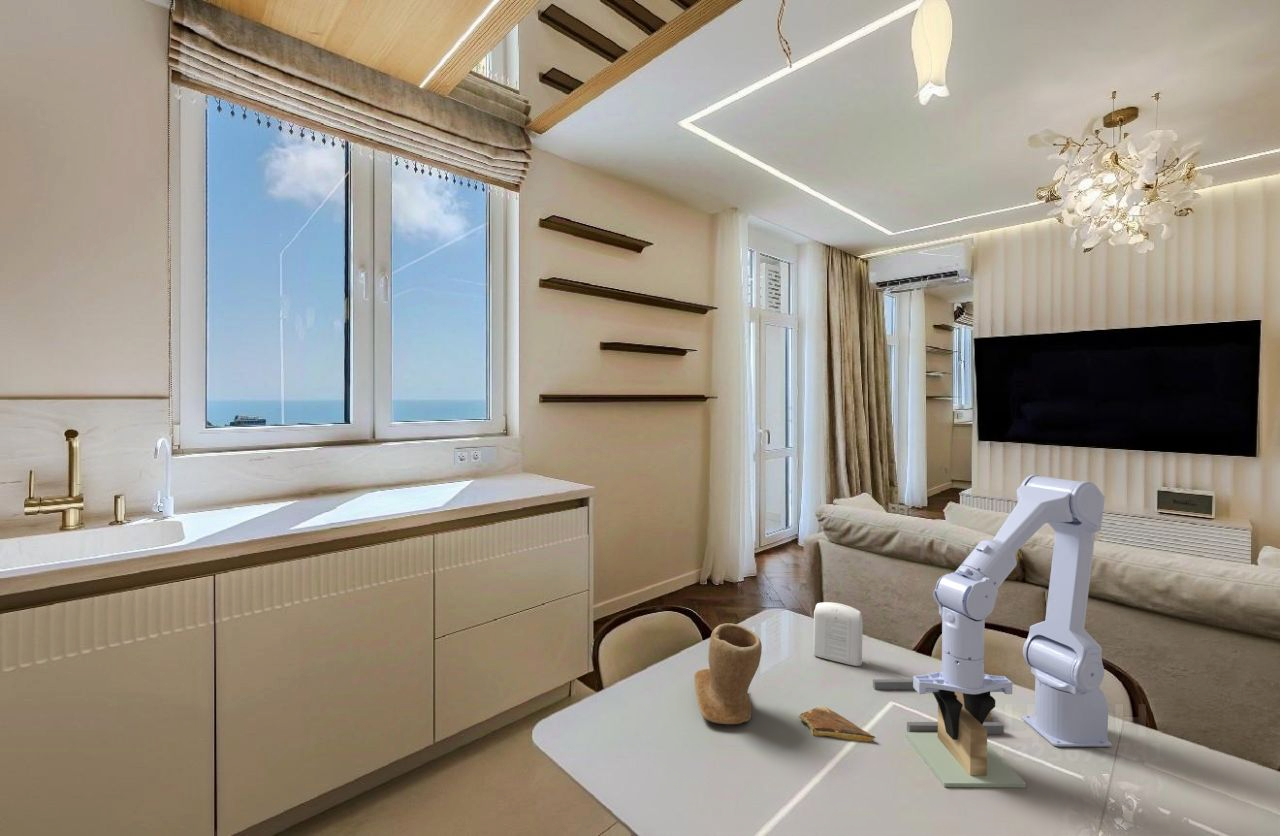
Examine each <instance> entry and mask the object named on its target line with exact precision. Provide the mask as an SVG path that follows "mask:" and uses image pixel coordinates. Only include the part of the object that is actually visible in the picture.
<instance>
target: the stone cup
mask: <svg viewBox="0 0 1280 836" xmlns="http://www.w3.org/2000/svg"><path fill="white" fill-rule="evenodd" d="M762 649H763V647H762V641H761V639H760V638H759V636H758V635H757V633H755V632H753V630H751V629H750V628H747V627H745V626H743V625H740V624H735V623H726V622H725V623H721V624H719V625H716V627H714V629H713V630H712V632H711V634H710V639H709V647H708V656H707V657H708V666H709V667H708V668H704V669H700V670H697V671H696V672H695V673H694V678H693V679H694V688H695V689H694V690H695V697H696V702H697V706H698V709H699V712H700V714H701V716H702V717H703V718H704V720H707V721H708V722H711V723H714V724H720V725H739V724H742V723H746V722H748V721H750V719H751V717H752V703H751V699H750V696H749V694H748V691H749V688H750V685H751V683H752V681H753V679H754V677H755V675H756V673H757V671H758V669H759V667H760V662H761V657H762Z"/></svg>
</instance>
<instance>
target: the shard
mask: <svg viewBox="0 0 1280 836" xmlns="http://www.w3.org/2000/svg"><path fill="white" fill-rule="evenodd" d="M798 718H799V719H800V721H802V722H803V721H804V722H803V723H805V724H806V723H807V724H806V725H807V727H808V728H809V729H810V732H811V734H812V736H815V737H816V736H817V737H818V736H821V737H825V736H827V737H832V738H837V739H838V738H839V739H843V740H849V741H856V742H857V741H858V742H869V743H870V742H873V740H875V739H876V736H874V735H872V734H871V733H870V732H868V731H866V730H864V729H862V728H860V727H859V726H858V725H856V724H855V723H854V722H852V721H850V720H848V719H847V718H845V717H844V716H842V715H840V714H839V713H837V712H835V711H833V710H831V709H829V708H828V707H815V708H812V709H810V710H807V711H804V712H802V713H800V714H799V715H798Z"/></svg>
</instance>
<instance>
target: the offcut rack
mask: <svg viewBox="0 0 1280 836" xmlns="http://www.w3.org/2000/svg"><path fill="white" fill-rule="evenodd" d="M872 688H873V689H874V690H882V691H883V690H889V691H890V690H891V691H892V690H893V691H894V690H898V691H899V690H902V691H903V690H908V691H909V690H915V689H914V688H913V679H909V678H908V679H900V678H899V679H897V678H896V679H886V678H885V679H883V678H882V679H880V678H879V679H875V678H874V679H872ZM915 691H916V690H915ZM955 695H957V699H958V700H959V701H960V702H961V703H962V704H963V707H964V708H965V706H964V698H963V693H959V692H955ZM983 726H984V727H985V728H986V729H987V735H1004V733H1005V731H1004V729H1005V726H1004V724H1003V723H1002V722H1000V721H995V720H994V717H993V716H992V715H991V712H990V713H989V714H988V715H987V717H986V719H985V720H984V722H983ZM906 731H907V732H938V721H907V722H906Z"/></svg>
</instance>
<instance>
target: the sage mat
mask: <svg viewBox="0 0 1280 836" xmlns="http://www.w3.org/2000/svg"><path fill="white" fill-rule="evenodd" d="M904 734H905V738H906V739H907V740H908V741H909V743H910V744H911V745H912V747H913V748H914V749H915V751H916V752H917V754H918V755H919V756H920V758H921V759H922V760H923V761H924V763H925V764H926V765H927V767H929V769H930V770H931V771H932V772H931V773H933V774H934V775H935V777H936V778H937V780H938V781H939V782H940V784H941V785H942V786H943V788H1027V783H1026V782H1025V780H1024V779H1022V778H1021V776H1020V775H1018V773H1016V772H1015V770H1014V769H1013V768H1011V766H1010V765H1008V763H1006V761H1005V760H1004V759H1003V758H1002V757H1001V756H1000V755H999V754H998V753H997V752H996V751H995V750H994V749H993V748H992V747H991V746H990V745H989V744H988V743H987V775H969V773H968V772H967V771H966V770H965V769H964V768H963V767H962V765H961V764H960V763H959V762H958V761H957V760H956V758H955V757H954V756H953V755H952V754H951V753H950V751H949V750H948V749H947V748H946V747H945V746H944V745H943V743H942V742H941V741H940V740H939V739H938V732H908V731H907V732H905V733H904Z"/></svg>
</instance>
